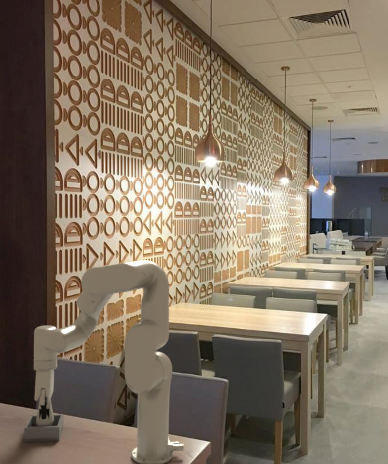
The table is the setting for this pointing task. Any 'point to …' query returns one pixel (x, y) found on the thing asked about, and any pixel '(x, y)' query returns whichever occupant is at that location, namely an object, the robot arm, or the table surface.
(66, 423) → the table surface
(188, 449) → the table surface
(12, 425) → the table surface
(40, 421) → the salt shaker
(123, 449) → the table surface
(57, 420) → the tray
